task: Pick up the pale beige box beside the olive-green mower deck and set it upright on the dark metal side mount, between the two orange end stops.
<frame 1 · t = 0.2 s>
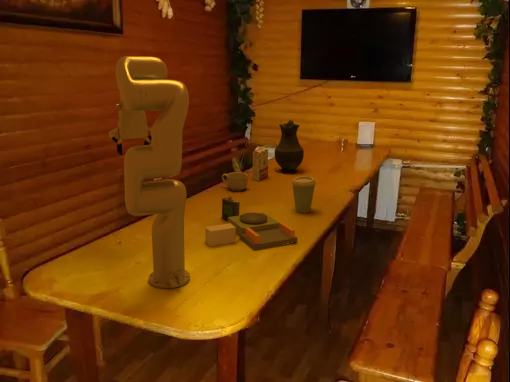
hand: (133, 153, 176), 31 cm above the table, tool pointing down, fingers open, 9 cm apart
teacup: (234, 189, 246), on the table
pitcher: (288, 171, 286), on the table
mower deck: (269, 241, 177), on the table
flask: (230, 220, 200), on the table
disposable coffee cup: (302, 210, 214), on the table
candy bar box: (259, 179, 267), on the table
pale beige box: (220, 242, 176), on the table
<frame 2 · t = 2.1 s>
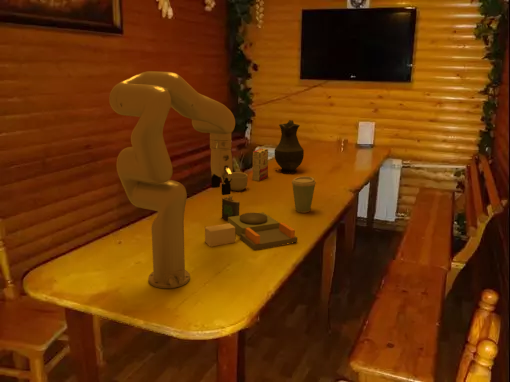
hand: (220, 190, 171), 20 cm above the table, tool pointing down, fingers open, 9 cm apart
nothing on the table moved.
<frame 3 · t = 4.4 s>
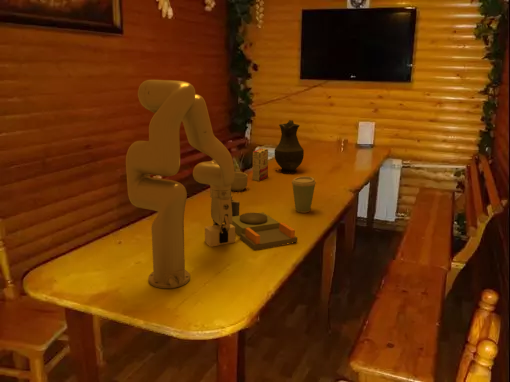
hand: (220, 239, 176), 1 cm above the table, tool pointing down, fingers closed on pale beige box, 5 cm apart
pale beige box: (219, 242, 176), on the table, touching gripper
everything else where it was.
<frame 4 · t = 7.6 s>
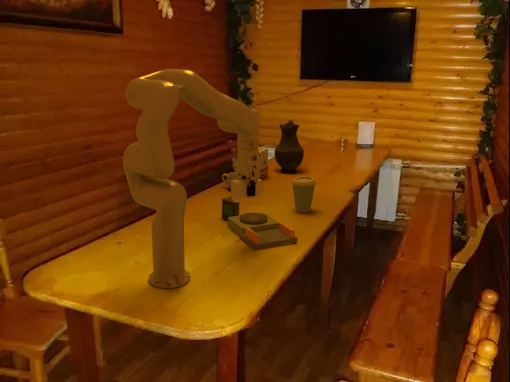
hand: (247, 193, 172), 19 cm above the table, tool pointing down, fingers closed on pale beige box, 5 cm apart
pale beige box: (246, 196, 172), point 18 cm above the table, touching gripper
everything else where it was.
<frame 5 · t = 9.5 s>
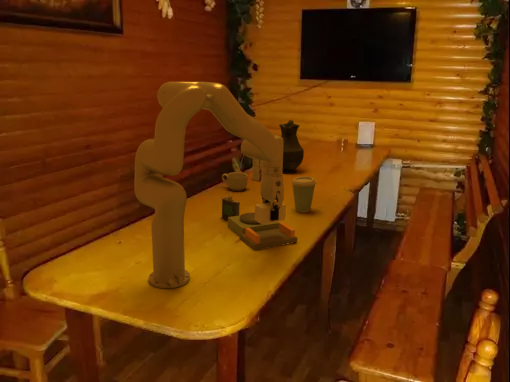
hand: (270, 217, 175), 10 cm above the table, tool pointing down, fingers closed on pale beige box, 5 cm apart
pale beige box: (269, 220, 175), point 9 cm above the table, touching gripper
everything else where it was.
when the fingers open (4 cm above the table, at t = 11.1 s): pale beige box drops 1 cm, resting on mower deck.
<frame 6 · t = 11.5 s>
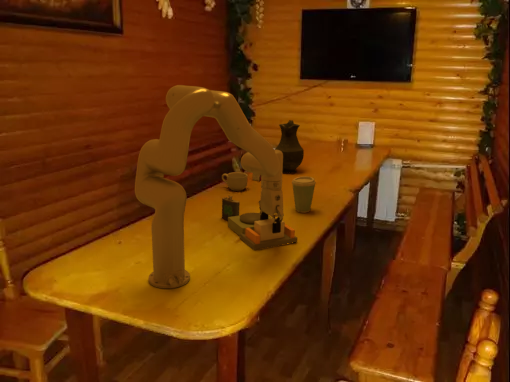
hand: (270, 228, 176), 5 cm above the table, tool pointing down, fingers open, 9 cm apart
pale beige box: (269, 236, 177), point 2 cm above the table, touching mower deck
everything else where it was.
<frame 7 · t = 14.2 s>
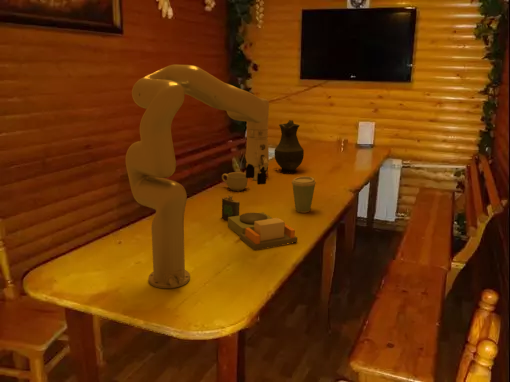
hand: (255, 180, 171), 23 cm above the table, tool pointing down, fingers open, 9 cm apart
nothing on the table moved.
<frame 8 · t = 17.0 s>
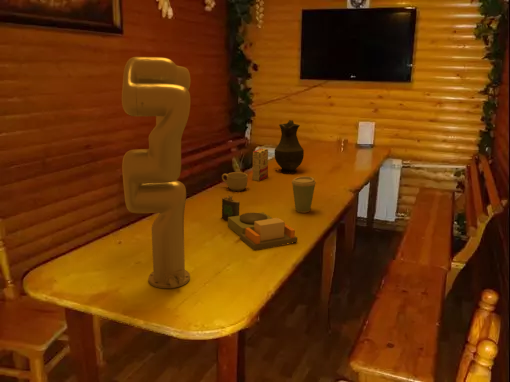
hand: (166, 153, 171), 32 cm above the table, tool pointing down, fingers open, 9 cm apart
nothing on the table moved.
at the end: pale beige box 0.3 cm off-centre on the mower deck, point 2.0 cm above the mower deck's base; pale beige box tilted 0°; the gripper is holding nothing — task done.
